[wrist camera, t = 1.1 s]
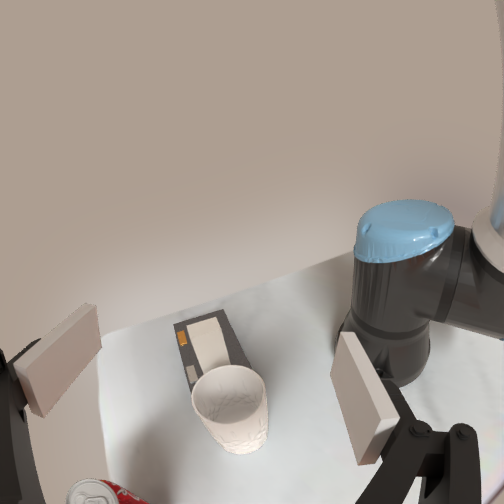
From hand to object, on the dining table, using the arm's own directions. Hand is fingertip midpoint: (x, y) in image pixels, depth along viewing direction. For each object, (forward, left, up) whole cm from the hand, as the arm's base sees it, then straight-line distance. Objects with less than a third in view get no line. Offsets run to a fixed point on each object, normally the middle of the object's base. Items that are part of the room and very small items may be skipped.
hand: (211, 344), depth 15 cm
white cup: (0, -8, -26) cm, 27 cm away
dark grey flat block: (0, -22, -25) cm, 33 cm away
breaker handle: (0, -18, -22) cm, 28 cm away
